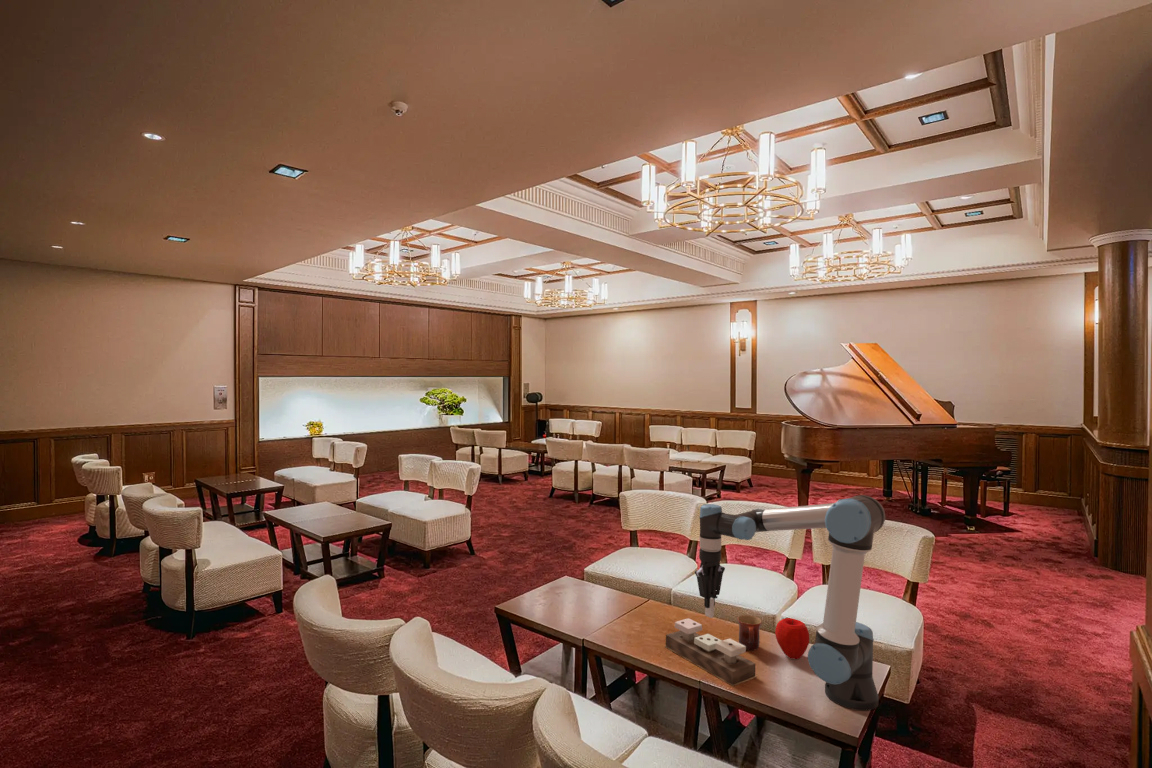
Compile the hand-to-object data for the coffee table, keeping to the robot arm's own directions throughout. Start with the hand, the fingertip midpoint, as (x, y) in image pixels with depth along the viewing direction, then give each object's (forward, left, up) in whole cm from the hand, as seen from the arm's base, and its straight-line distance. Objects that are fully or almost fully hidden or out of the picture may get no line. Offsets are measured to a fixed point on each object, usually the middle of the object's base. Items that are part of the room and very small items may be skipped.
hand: (709, 616), depth 199 cm
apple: (-13, -29, -16) cm, 36 cm away
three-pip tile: (0, 0, -15) cm, 15 cm away
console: (0, 0, -16) cm, 16 cm away
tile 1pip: (-10, 0, -13) cm, 16 cm away
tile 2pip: (+10, 0, -13) cm, 16 cm away
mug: (-1, -20, -16) cm, 26 cm away
